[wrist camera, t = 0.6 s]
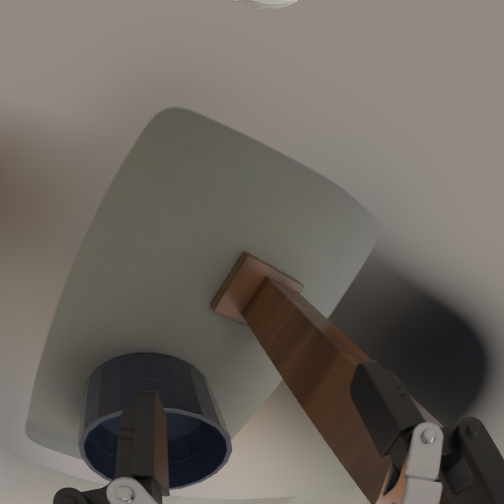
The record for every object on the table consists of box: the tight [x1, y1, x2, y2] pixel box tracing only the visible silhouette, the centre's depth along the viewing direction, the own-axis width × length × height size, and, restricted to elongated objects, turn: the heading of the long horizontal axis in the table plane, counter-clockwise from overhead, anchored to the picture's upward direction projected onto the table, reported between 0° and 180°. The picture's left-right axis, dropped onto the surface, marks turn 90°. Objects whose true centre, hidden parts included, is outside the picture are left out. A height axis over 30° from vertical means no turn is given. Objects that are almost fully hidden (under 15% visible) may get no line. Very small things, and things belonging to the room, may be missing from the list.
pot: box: [78, 353, 232, 490], centre depth 31 cm, size 17×17×9 cm
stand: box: [211, 251, 450, 504], centre depth 20 cm, size 8×7×32 cm
